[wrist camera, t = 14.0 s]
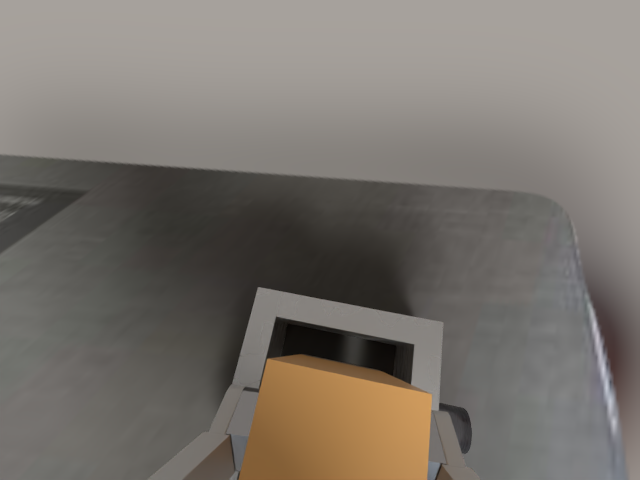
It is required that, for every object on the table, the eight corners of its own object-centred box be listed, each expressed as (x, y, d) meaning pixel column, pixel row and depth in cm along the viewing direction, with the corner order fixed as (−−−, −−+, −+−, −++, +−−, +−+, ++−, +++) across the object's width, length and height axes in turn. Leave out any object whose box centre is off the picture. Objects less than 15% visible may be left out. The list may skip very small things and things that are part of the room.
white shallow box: (232, 468, 17) (198, 508, 12) (273, 300, 20) (258, 286, 16) (442, 522, 16) (483, 588, 11) (450, 334, 19) (484, 330, 14)
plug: (285, 439, 14) (217, 567, 6) (303, 353, 16) (267, 358, 7) (367, 460, 14) (418, 627, 6) (378, 369, 15) (432, 394, 7)
